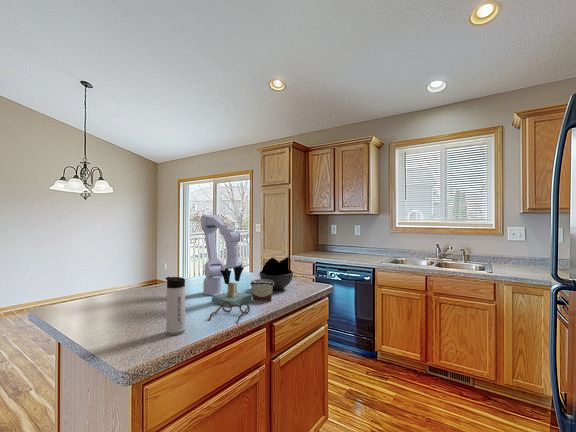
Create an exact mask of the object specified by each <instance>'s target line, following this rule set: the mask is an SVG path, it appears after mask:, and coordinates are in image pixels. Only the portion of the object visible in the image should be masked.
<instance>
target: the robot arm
mask: <svg viewBox="0 0 576 432" xmlns="http://www.w3.org/2000/svg"><path fill="white" fill-rule="evenodd" d="M200 226H201V231H203V232H204V233H203V234H204V238H205V246H206V251H207V258H208V261H206V263H205V264H204V271H203V272H204V276H205V278H204V279H203V292H201V293H202V294H201V295H206V296H212V297H215V296H218V295H221V294H224V293H226V292H225V291H222V278H223V281H224V284H225V285H228V284H229V283H230V280H231V279H230V277H231V273H232V269H233V272H234V280H235V282H240V278H241V275H242V272H243V270H244V267H243V266H244V262H241V261H239V243H240V241H241V233H240V232H239V231H237V230H234V229H233V228H232V227H230V225H229V224H227V223H226V224H225V223H224V222H223V221H222V217H221V216H220V215H219V214H202V216H201V217H200ZM217 230H218V231H219V232H218V233H220V234H221V235H222V237H223V238H224V239H223V240H224V243H225V247H226V264H223V263H224V262H223V261H222V260H220V259H219V257H218V252H217V245H216V241H215V234H214V232H215V231H217ZM230 269H231V270H230Z"/></svg>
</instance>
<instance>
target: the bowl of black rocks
mask: <svg viewBox="0 0 576 432" xmlns="http://www.w3.org/2000/svg"><path fill="white" fill-rule="evenodd" d="M289 259H290V258H289V257H288V256H287V257H285V258H283V259H281V260H280V261H278V260H277V259H276V258H275V257H270V258H269V259H268V260H267V261H265V263H264V265H263V267H262V269H261V271H259V279H268V280H272V281H273V282H274V285H273V290H276V291H277V290H278V291H279V290H282V289H284V288H286V287H287V286H288V285H290V284H291V282H292V280H293V277H294V271H292V270H290V268H289V263H290V262H289V261H290V260H289Z"/></svg>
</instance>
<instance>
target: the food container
mask: <svg viewBox="0 0 576 432" xmlns="http://www.w3.org/2000/svg"><path fill="white" fill-rule="evenodd" d="M250 281H251V282H250V283H249V285H250V286H251V287H250V288H251V295H252V302H266V303H267V302H268V303H271V302H272V300H273V299H272V297H273V290H274V289H273V285H274V282H273V281H272V280H268V279H261V278H259V279H252V280H250Z"/></svg>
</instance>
